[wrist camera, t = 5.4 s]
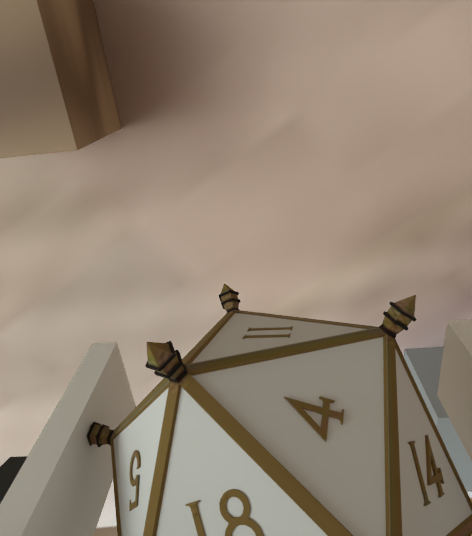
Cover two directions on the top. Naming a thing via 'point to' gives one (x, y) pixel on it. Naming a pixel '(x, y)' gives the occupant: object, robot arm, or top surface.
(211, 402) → the game die
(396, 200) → the top surface
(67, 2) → the walnut cube
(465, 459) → the slate grey cube
